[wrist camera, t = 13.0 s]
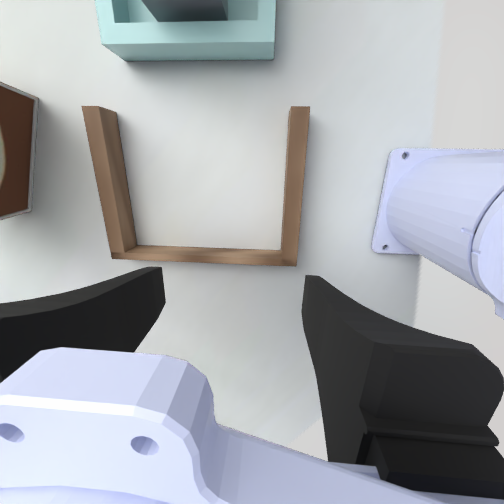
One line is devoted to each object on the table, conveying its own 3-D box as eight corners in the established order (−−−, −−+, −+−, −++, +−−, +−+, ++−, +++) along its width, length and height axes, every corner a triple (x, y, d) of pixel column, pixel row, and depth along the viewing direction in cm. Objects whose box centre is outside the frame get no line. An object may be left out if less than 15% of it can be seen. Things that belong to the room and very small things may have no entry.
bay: (305, 112, 17) (310, 106, 15) (293, 257, 21) (296, 266, 19) (101, 112, 18) (81, 106, 16) (125, 250, 22) (111, 258, 20)
